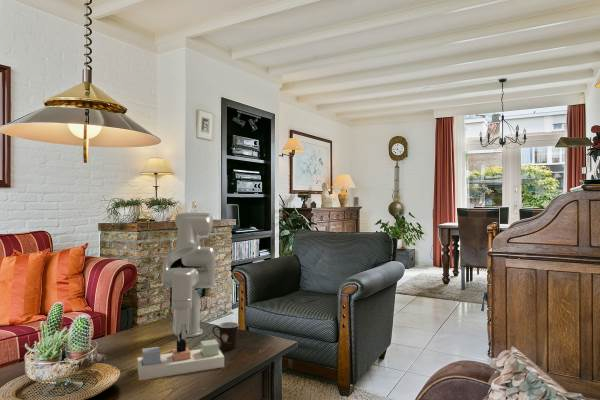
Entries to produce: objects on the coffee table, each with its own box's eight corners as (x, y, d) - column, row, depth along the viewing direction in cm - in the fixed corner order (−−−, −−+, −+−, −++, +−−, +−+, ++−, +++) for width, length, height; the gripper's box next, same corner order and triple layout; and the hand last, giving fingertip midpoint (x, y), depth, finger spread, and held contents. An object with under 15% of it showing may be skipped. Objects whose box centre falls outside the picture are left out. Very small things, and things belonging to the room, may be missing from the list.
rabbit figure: (105, 360, 168) (64, 359, 163) (108, 346, 169) (67, 344, 164) (104, 366, 162) (61, 364, 157) (106, 351, 163) (64, 349, 158)
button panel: (137, 368, 157) (137, 357, 157) (217, 356, 170) (217, 346, 170) (139, 380, 146) (139, 369, 147) (224, 366, 159) (224, 356, 159)
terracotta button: (172, 362, 160) (172, 349, 160) (187, 359, 162) (187, 347, 162) (174, 367, 154) (174, 354, 154) (190, 365, 157) (190, 352, 157)
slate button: (142, 361, 155) (142, 348, 155) (158, 359, 158) (158, 346, 158) (143, 367, 150) (143, 354, 150) (160, 365, 152) (160, 351, 152)
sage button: (200, 353, 164) (200, 341, 165) (215, 351, 167) (215, 339, 167) (203, 358, 159) (203, 346, 159) (218, 356, 162) (218, 343, 162)
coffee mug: (242, 347, 181) (242, 324, 181) (226, 352, 175) (226, 329, 175) (226, 341, 189) (226, 319, 189) (210, 345, 183) (211, 323, 183)
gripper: (169, 300, 164) (168, 346, 164) (174, 308, 150) (173, 359, 150) (188, 298, 167) (187, 343, 167) (195, 307, 153) (194, 356, 153)
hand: (181, 350), depth 158 cm, fingers closed
